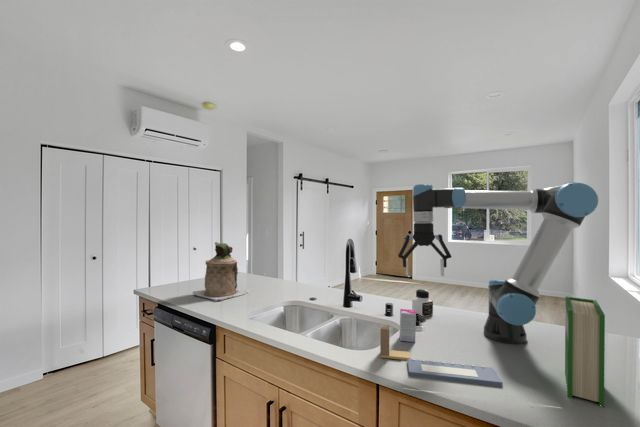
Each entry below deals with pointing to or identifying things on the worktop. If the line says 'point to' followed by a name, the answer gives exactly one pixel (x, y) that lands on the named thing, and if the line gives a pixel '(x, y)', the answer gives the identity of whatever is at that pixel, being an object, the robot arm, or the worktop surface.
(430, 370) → the blue-grey flat rectangular block
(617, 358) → the worktop surface
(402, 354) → the wooden l-shaped block
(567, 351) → the hardback book
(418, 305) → the medicine bottle
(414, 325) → the supplement box
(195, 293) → the cookie jar
